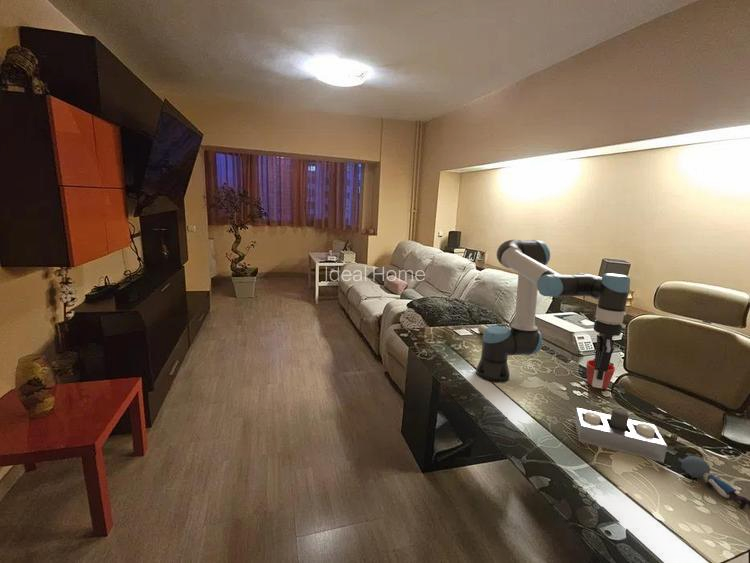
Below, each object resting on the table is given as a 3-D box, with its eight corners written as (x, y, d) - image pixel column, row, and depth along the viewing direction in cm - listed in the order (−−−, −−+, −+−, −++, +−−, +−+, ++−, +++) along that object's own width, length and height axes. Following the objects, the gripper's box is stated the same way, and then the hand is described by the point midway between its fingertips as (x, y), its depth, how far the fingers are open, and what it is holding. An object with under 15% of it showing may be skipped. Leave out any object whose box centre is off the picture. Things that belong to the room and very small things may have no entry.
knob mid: (610, 430, 113) (613, 414, 112) (607, 423, 117) (610, 407, 116) (627, 434, 111) (630, 418, 110) (623, 426, 115) (626, 411, 114)
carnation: (486, 344, 220) (509, 355, 185) (468, 338, 220) (488, 347, 185) (491, 327, 220) (515, 334, 185) (474, 321, 220) (494, 327, 185)
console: (578, 441, 114) (581, 425, 113) (574, 422, 125) (576, 407, 124) (663, 462, 105) (667, 445, 104) (650, 440, 116) (654, 424, 115)
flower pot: (616, 391, 148) (620, 371, 147) (589, 388, 151) (592, 368, 149) (605, 380, 159) (608, 361, 157) (580, 377, 161) (583, 358, 159)
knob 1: (583, 432, 117) (586, 417, 115) (581, 425, 121) (584, 410, 120) (599, 436, 115) (602, 420, 114) (596, 429, 119) (599, 413, 118)
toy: (746, 513, 91) (684, 467, 104) (760, 495, 89) (696, 451, 103) (733, 513, 88) (671, 465, 101) (747, 495, 87) (683, 449, 100)
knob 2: (636, 445, 111) (639, 429, 109) (632, 437, 115) (635, 421, 114) (653, 449, 109) (657, 433, 108) (649, 441, 113) (652, 425, 112)
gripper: (627, 328, 103) (614, 398, 107) (617, 317, 114) (605, 380, 119) (599, 325, 106) (587, 393, 110) (592, 314, 117) (581, 376, 122)
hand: (596, 386), depth 115 cm, fingers closed
